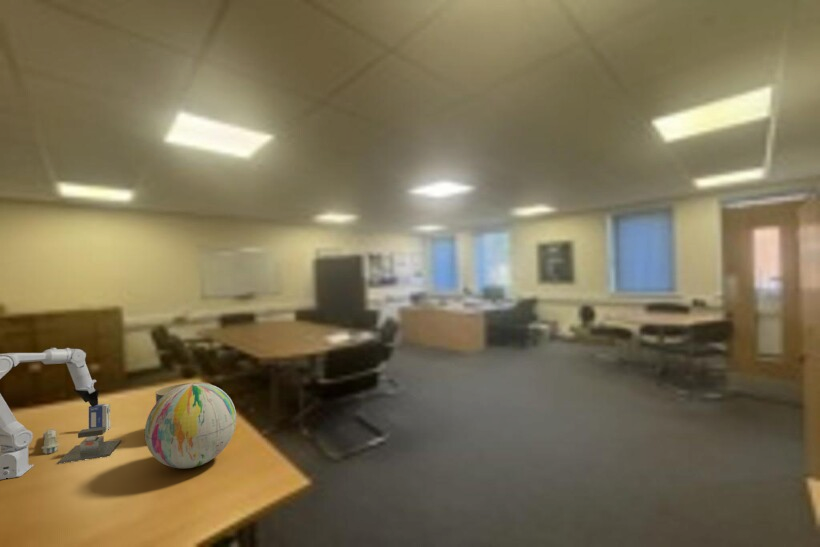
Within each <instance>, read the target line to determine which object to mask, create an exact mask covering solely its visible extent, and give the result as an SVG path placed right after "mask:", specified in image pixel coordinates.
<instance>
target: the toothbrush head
mask: <svg viewBox="0 0 820 547" xmlns="http://www.w3.org/2000/svg"><path fill="white" fill-rule="evenodd" d="M42 435H43V436H42V437H43V440H44V441H43V445H42V446H41V450H42V454H43V455H44V454H45V455H47V454H52V453H55V452H57V451H59V446H60V443H59V442H58V441H57V437H56V436H57V431H56V430H55V429H54V428H51V429H47V430H46V431H45V432H43V434H42Z"/></svg>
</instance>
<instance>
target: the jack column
mask: <svg viewBox="0 0 820 547" xmlns="http://www.w3.org/2000/svg"><path fill="white" fill-rule="evenodd" d="M106 432H107V431H106V427H99V428H91V429H89V428H85V429H80V431H79V432H77V439H82V438H85V439H86V442H89V441H96V440H97V439H98V437H99V436H104V434H105V433H106Z"/></svg>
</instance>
